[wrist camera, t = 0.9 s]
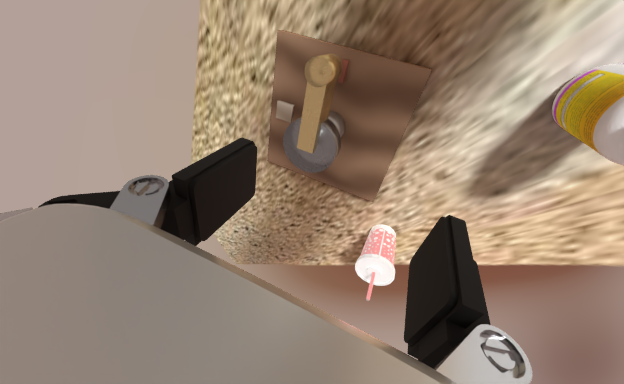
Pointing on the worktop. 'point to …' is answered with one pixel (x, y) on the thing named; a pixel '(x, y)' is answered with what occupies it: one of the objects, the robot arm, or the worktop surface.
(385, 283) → the beverage cup
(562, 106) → the supplement bottle
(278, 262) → the worktop surface
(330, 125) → the brass lever handle
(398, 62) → the post base
